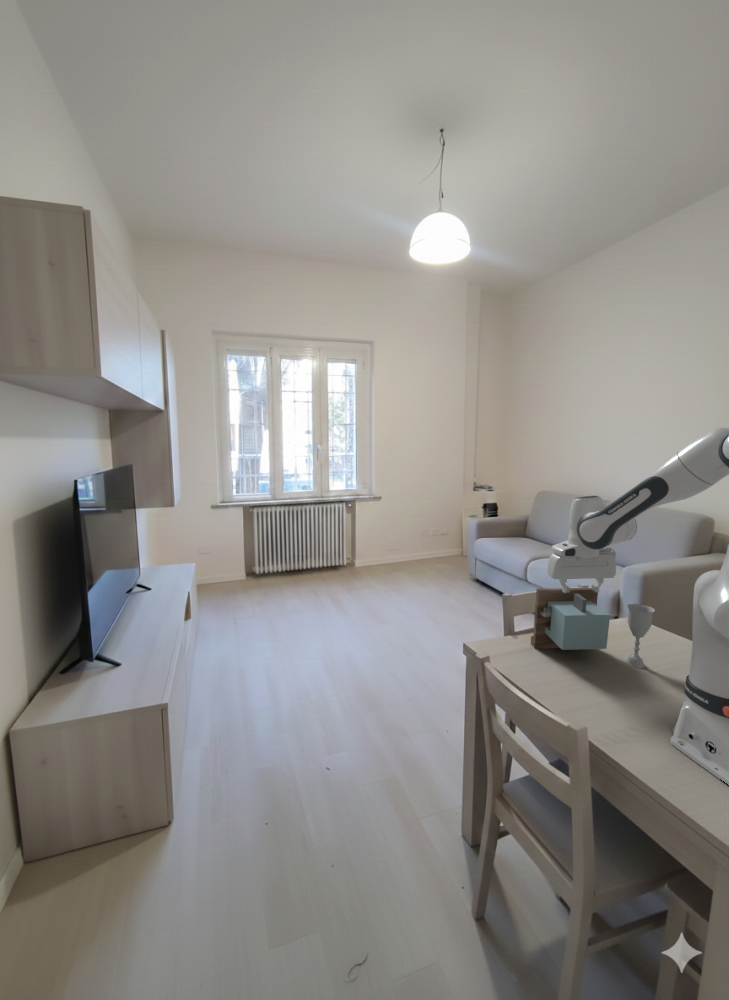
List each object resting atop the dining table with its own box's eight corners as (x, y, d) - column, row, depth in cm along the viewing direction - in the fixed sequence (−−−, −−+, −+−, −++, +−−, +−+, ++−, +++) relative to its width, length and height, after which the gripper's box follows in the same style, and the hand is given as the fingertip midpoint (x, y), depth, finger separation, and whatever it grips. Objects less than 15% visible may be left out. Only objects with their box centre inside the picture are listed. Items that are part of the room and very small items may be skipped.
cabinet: (606, 648, 136) (611, 602, 134) (562, 649, 135) (566, 602, 133) (585, 631, 147) (590, 588, 145) (544, 632, 146) (548, 589, 144)
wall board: (598, 651, 145) (603, 592, 142) (538, 652, 144) (542, 593, 141) (587, 643, 151) (592, 586, 148) (530, 644, 150) (534, 587, 147)
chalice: (641, 658, 141) (647, 604, 138) (653, 669, 134) (659, 612, 131) (617, 657, 141) (622, 603, 139) (628, 668, 135) (633, 611, 132)
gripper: (609, 545, 140) (606, 587, 141) (546, 546, 138) (544, 589, 140) (622, 550, 133) (619, 594, 135) (556, 551, 132) (554, 596, 134)
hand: (580, 591), depth 138 cm, fingers open, 8 cm apart
